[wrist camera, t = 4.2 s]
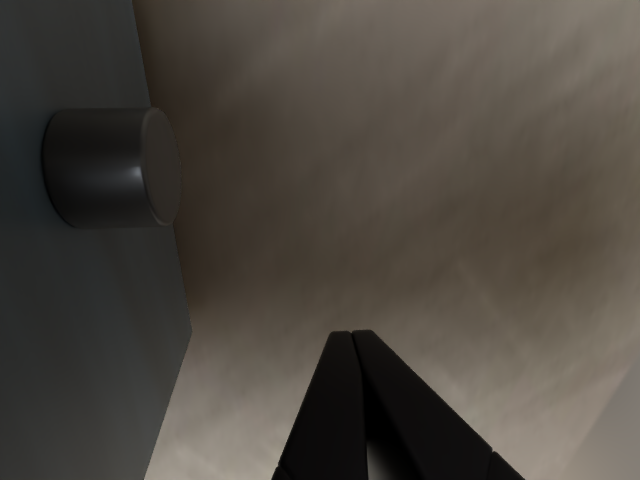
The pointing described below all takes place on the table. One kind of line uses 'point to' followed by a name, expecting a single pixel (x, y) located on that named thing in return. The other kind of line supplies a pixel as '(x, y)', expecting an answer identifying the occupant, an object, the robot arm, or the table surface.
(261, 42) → the table surface
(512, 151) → the table surface
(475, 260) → the table surface
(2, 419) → the drawer
